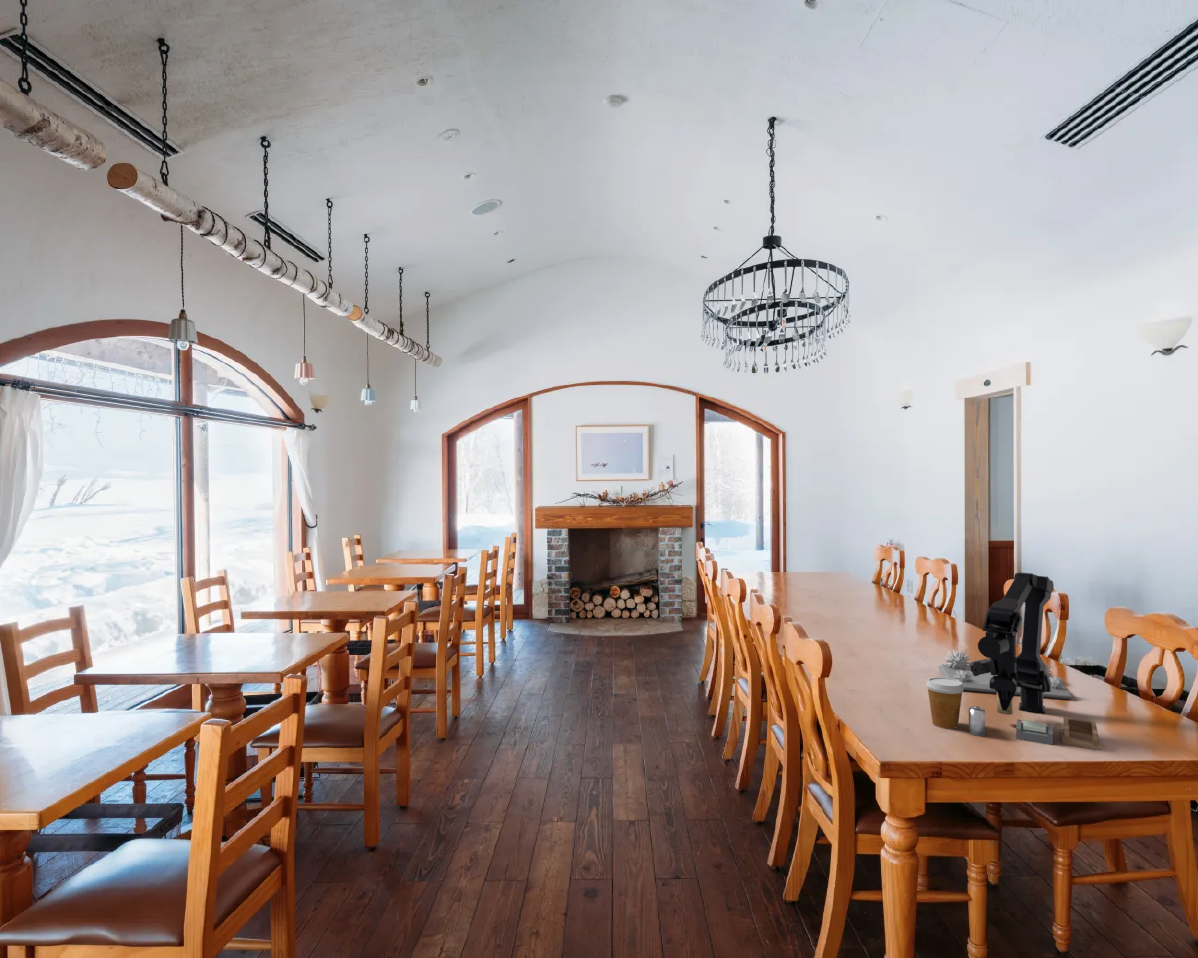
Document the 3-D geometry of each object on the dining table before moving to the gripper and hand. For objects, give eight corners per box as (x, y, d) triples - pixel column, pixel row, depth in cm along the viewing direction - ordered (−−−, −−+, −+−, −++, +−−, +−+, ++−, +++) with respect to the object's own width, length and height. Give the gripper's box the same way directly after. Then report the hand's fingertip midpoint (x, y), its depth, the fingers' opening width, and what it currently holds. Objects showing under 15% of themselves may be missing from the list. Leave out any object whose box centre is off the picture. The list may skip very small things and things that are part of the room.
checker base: (1017, 729, 188) (1017, 719, 188) (1052, 735, 184) (1052, 724, 184) (1016, 738, 181) (1016, 728, 181) (1052, 744, 177) (1052, 733, 177)
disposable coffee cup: (952, 718, 197) (952, 676, 197) (971, 730, 188) (971, 686, 188) (919, 719, 197) (919, 676, 197) (937, 731, 187) (936, 686, 187)
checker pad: (1023, 723, 186) (1023, 719, 186) (1045, 727, 183) (1045, 723, 183) (1023, 729, 182) (1023, 725, 182) (1045, 732, 179) (1045, 728, 179)
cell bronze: (997, 709, 195) (997, 683, 195) (1013, 711, 193) (1012, 686, 193) (996, 713, 191) (996, 687, 192) (1012, 715, 189) (1012, 689, 189)
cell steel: (969, 729, 188) (969, 703, 188) (985, 732, 186) (985, 706, 186) (968, 734, 185) (968, 707, 185) (984, 737, 183) (984, 710, 183)
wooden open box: (1061, 732, 186) (1061, 717, 186) (1098, 737, 182) (1098, 722, 182) (1062, 743, 178) (1062, 728, 178) (1100, 750, 173) (1100, 734, 173)
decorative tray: (948, 691, 224) (948, 661, 224) (937, 671, 248) (937, 643, 248) (1075, 702, 212) (1074, 670, 212) (1050, 679, 237) (1050, 650, 237)
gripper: (974, 641, 204) (974, 695, 204) (968, 655, 189) (968, 712, 189) (1018, 646, 198) (1018, 701, 198) (1015, 660, 183) (1016, 720, 183)
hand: (1004, 708), depth 192 cm, fingers closed on cell bronze, 4 cm apart
